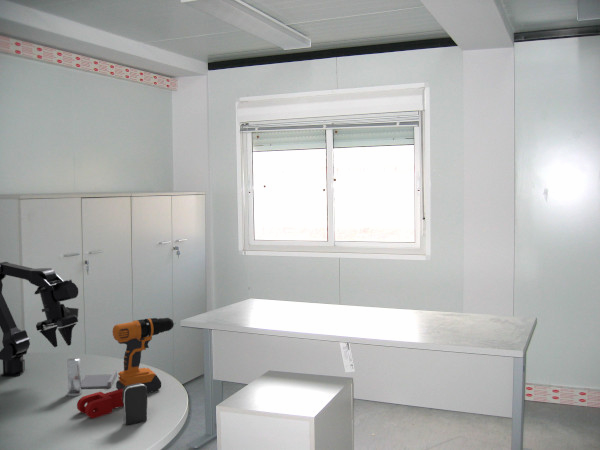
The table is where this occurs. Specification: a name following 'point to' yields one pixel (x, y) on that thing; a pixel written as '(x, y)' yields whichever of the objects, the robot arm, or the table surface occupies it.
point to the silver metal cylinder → (74, 377)
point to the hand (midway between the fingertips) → (62, 346)
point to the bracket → (99, 381)
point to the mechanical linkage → (100, 403)
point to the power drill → (139, 350)
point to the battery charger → (134, 403)
